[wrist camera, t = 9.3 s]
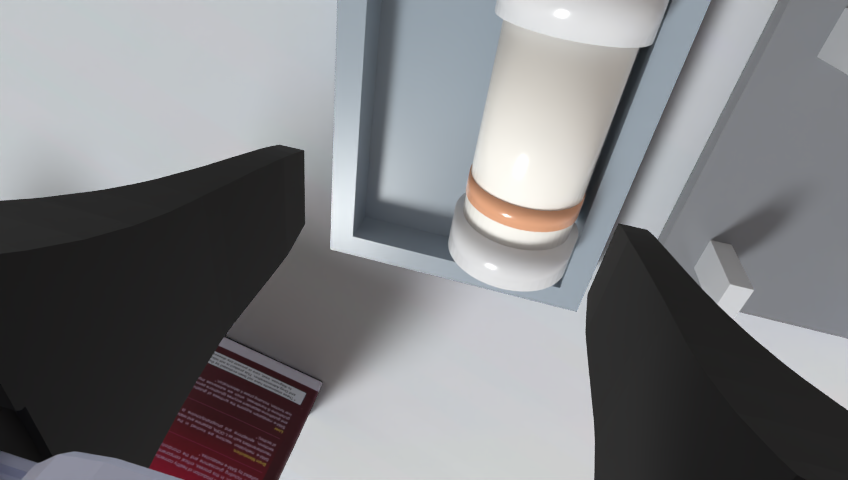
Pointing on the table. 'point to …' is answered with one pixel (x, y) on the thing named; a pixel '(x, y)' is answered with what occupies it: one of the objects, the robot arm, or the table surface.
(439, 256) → the tray
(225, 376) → the supplement box
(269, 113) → the table surface
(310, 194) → the table surface
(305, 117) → the table surface
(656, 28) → the fuse
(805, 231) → the fuse holder
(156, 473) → the robot arm
